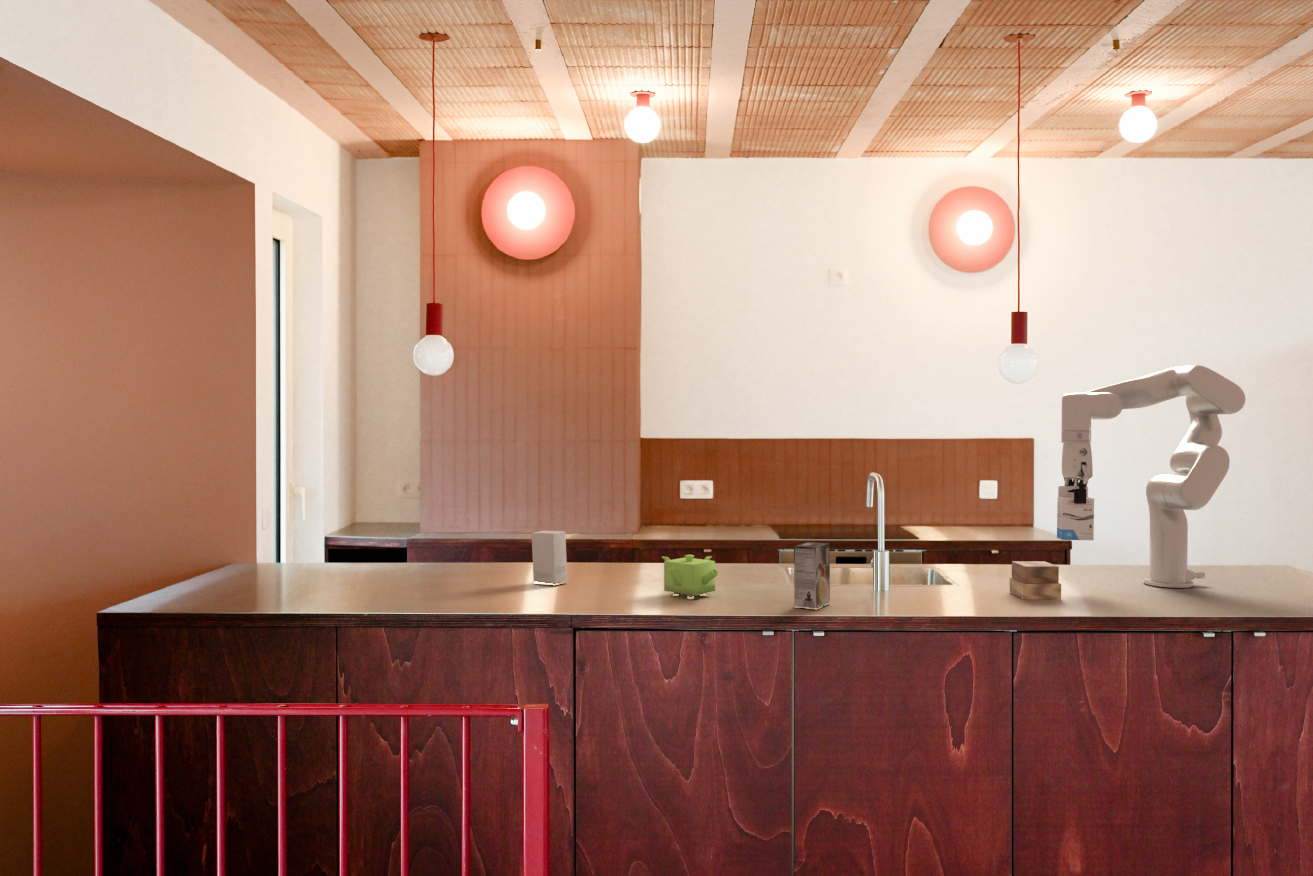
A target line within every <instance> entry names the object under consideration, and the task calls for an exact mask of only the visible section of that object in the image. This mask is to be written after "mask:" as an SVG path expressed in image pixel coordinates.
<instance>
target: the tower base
mask: <svg viewBox="0 0 1313 876" xmlns="http://www.w3.org/2000/svg"><path fill="white" fill-rule="evenodd" d="M1010 592H1011V593H1013V594H1014V595H1013V594H1012V595H1013V596H1015V595H1016V596H1015V597H1017V596H1019V597H1021V598H1023V599H1061V600H1062V583H1060V582H1059V583H1023V582H1020V581H1018V580H1016V579H1014V578H1012V577H1009V593H1010ZM1011 593H1010V594H1011ZM1019 597H1018V598H1019ZM1021 598H1020V599H1021ZM1023 599H1022V600H1023Z"/></svg>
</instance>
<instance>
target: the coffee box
mask: <svg viewBox="0 0 1313 876" xmlns="http://www.w3.org/2000/svg"><path fill="white" fill-rule="evenodd" d="M830 549H831V547H830V542H815V541H814V542H813V541H807V542H804V543H800V544H797V545H794V546H793V590H794V591H793V595H794V597H793V598H794V600H793V601H794V602H793V603H794V604H793V605H794V606H798V607H809V608H819V607H821V606H824V605H825V604H827V603H829V602H830V603H831V581H830V580H831V567H830V566H831V565H830V562H831V560H830V559H831V558H830V556H831V555H830V551H831V550H830Z"/></svg>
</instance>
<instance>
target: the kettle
mask: <svg viewBox="0 0 1313 876" xmlns="http://www.w3.org/2000/svg"><path fill="white" fill-rule="evenodd" d="M694 557H695V555H693V554H685V555H684V557H680V558H673V559H670V557H668V556H664V555H663V556H661V558H662V559H663V560H664V562H663V575H664V576H663V583H664V586H663V587H664V589H663V590H664V592H669V593H674V594H680V595H686V597H687V596H689V597H692V596H697V595H699V594H703V593H706V594H708V593H711V592H716V577H717V576H718V575H719V572H718V570H717V569H716V561H715V560H711V559H712V557H713V556H712V555H711V556H710V555H709V556H706V557H705V558H704V559H702V558H696V557H695V558H694Z"/></svg>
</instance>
